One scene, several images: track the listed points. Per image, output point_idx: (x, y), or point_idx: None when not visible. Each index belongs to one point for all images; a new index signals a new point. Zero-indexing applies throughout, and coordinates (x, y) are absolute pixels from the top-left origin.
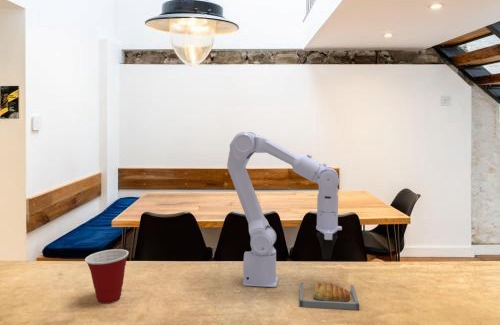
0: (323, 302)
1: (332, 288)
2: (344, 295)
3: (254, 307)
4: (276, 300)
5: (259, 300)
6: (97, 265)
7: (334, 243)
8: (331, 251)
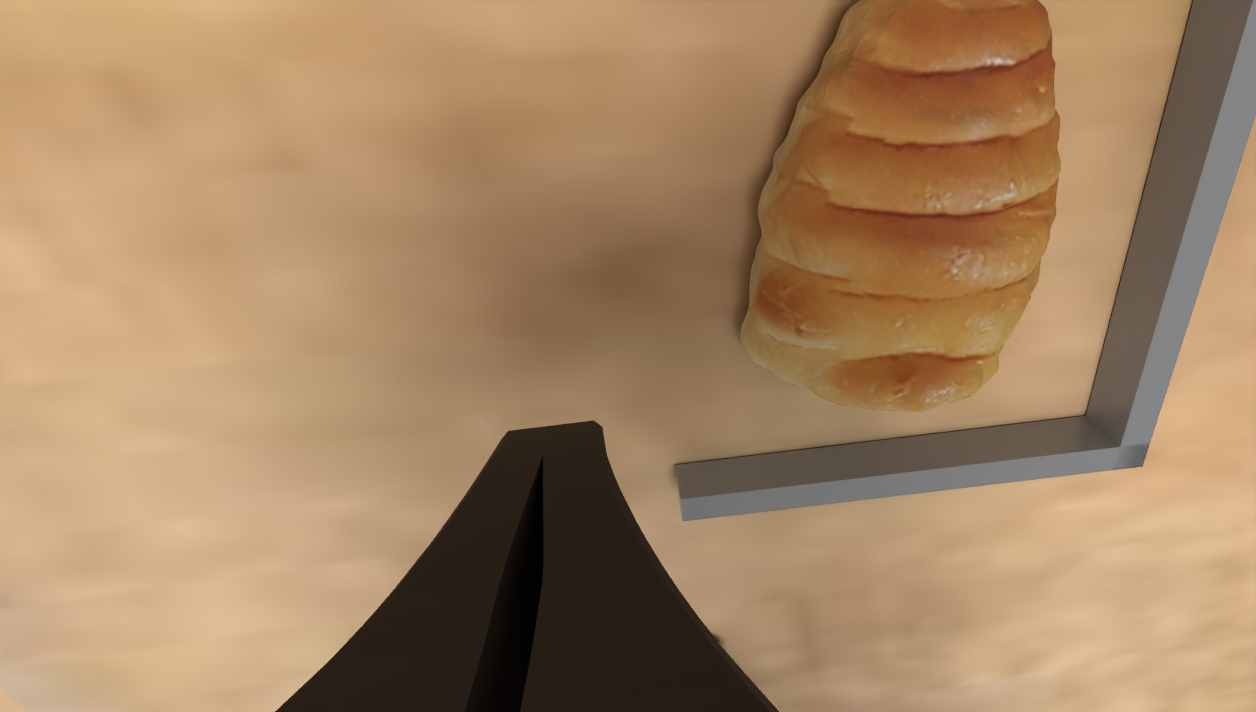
0: (1205, 267)
1: (998, 214)
2: (1050, 38)
3: (1089, 667)
4: (971, 588)
5: (972, 668)
6: None
7: (755, 687)
8: (637, 524)
